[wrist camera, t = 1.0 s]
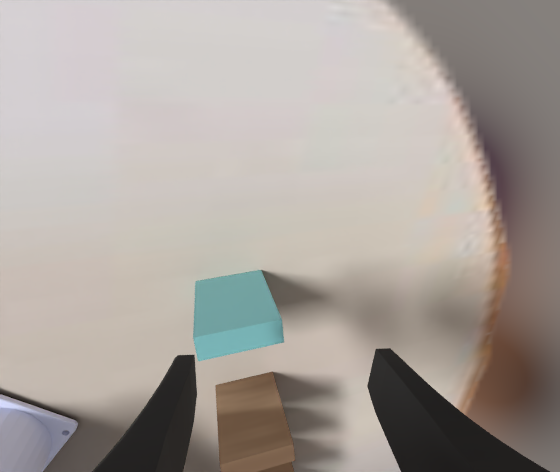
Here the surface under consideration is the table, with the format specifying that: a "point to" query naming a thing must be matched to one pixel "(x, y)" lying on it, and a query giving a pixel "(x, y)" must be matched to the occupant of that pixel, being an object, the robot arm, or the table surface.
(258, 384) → the domino
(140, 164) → the table surface
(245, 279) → the teal domino
